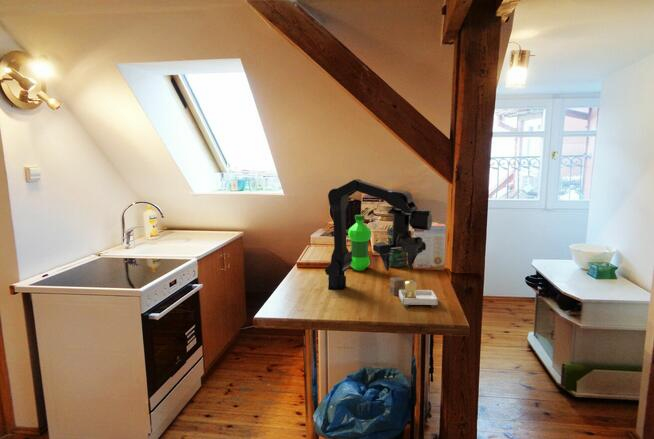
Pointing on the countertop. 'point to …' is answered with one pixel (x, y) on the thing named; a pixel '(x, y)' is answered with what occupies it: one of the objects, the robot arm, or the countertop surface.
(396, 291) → the walnut block
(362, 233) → the plastic bottle
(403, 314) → the countertop surface
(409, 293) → the small wooden cylinder
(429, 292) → the white shallow tray
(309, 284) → the countertop surface
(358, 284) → the countertop surface
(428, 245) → the cracker box
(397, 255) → the coffee jar
